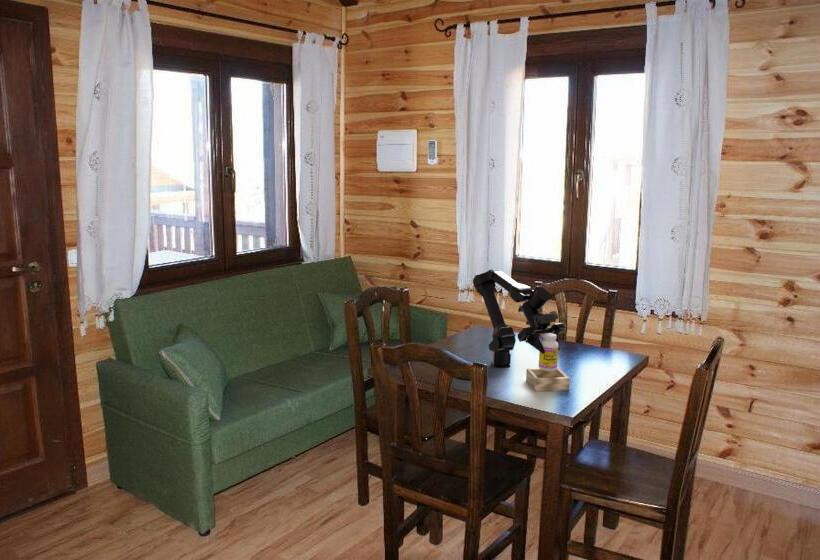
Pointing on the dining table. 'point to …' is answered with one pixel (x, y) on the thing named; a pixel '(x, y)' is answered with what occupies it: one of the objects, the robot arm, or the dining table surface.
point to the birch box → (547, 380)
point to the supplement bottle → (549, 353)
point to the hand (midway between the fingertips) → (551, 352)
